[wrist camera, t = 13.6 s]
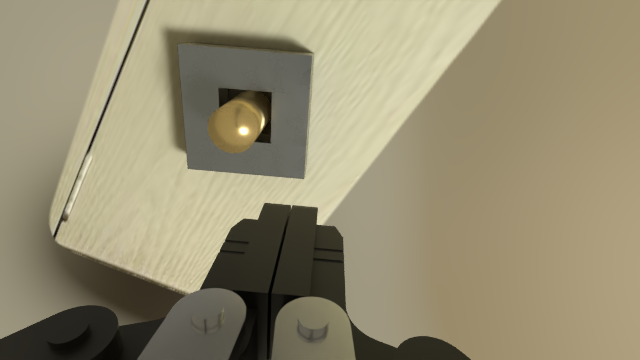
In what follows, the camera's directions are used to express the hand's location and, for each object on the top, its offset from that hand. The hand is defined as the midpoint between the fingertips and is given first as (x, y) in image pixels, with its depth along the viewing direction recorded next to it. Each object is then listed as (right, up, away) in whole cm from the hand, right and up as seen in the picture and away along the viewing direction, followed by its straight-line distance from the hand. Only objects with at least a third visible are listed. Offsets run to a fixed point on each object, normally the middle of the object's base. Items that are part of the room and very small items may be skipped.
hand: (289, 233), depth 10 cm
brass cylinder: (-6, +9, +26) cm, 28 cm away
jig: (-6, +9, +26) cm, 28 cm away
